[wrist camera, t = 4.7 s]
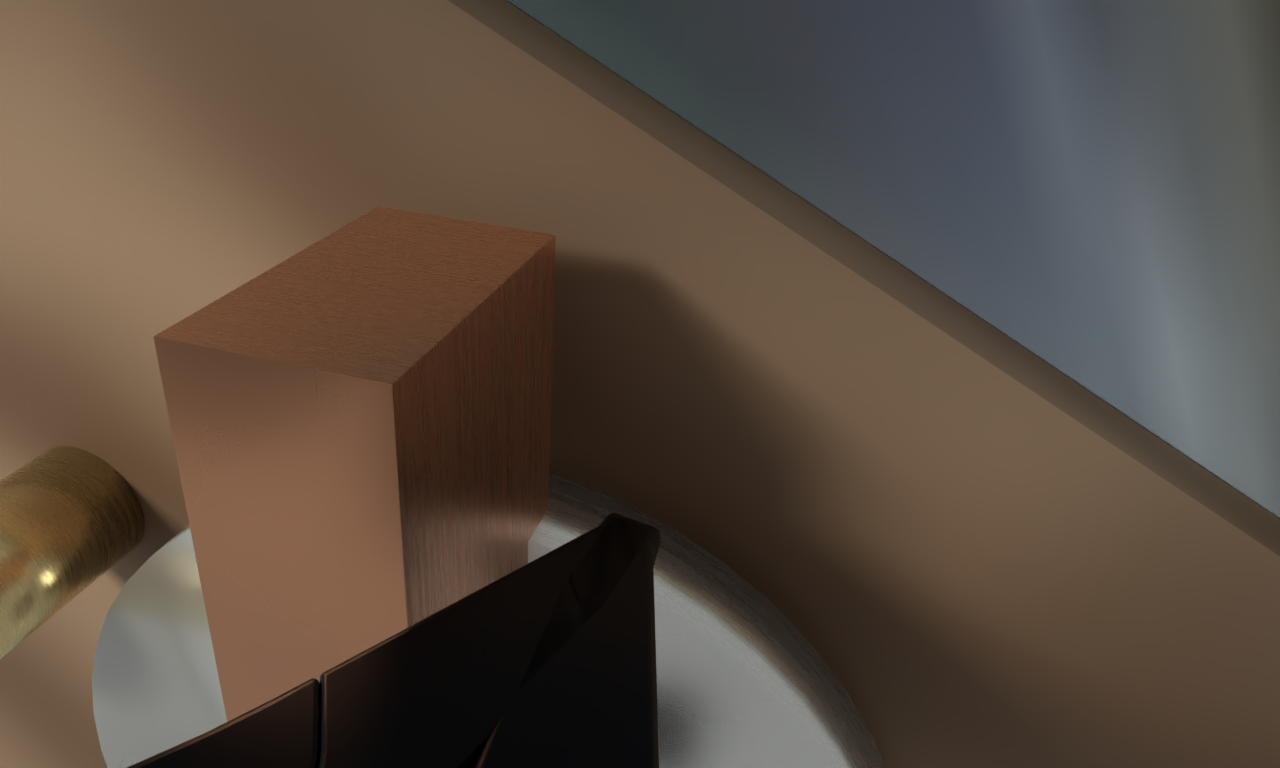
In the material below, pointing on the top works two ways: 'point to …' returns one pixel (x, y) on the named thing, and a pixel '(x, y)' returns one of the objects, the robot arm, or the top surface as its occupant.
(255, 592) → the flange plate
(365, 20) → the base board
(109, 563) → the brass dowel
